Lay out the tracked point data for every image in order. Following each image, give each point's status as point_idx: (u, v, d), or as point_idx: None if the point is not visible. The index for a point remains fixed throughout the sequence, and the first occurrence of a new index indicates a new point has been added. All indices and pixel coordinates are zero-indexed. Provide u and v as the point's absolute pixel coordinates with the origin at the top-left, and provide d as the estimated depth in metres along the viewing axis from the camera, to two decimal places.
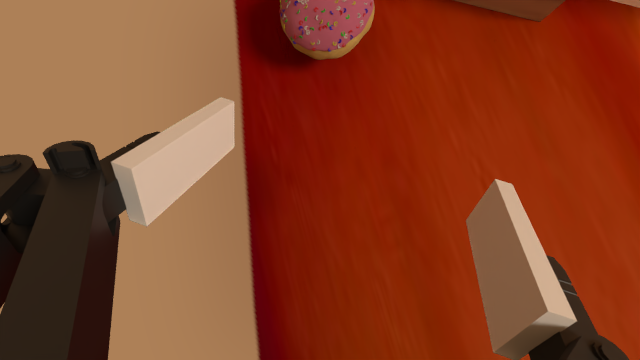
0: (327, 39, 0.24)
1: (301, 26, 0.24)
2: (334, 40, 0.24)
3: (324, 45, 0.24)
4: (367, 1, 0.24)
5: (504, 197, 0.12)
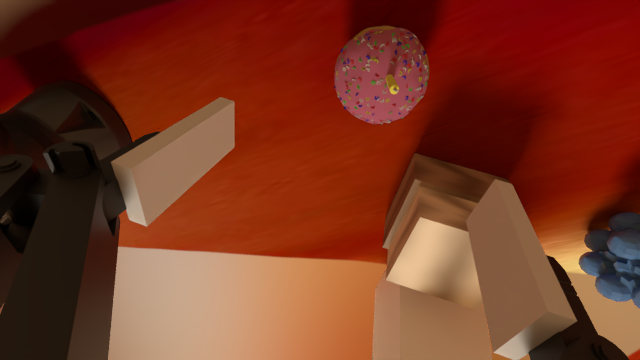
0: (339, 87, 0.26)
1: (349, 61, 0.24)
2: (340, 93, 0.26)
3: (336, 83, 0.26)
4: (375, 120, 0.27)
5: (504, 197, 0.12)
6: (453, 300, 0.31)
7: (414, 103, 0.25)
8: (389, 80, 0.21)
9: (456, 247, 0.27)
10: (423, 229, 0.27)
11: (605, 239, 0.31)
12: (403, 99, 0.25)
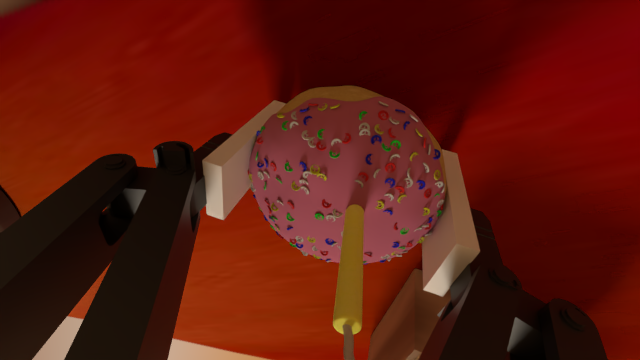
0: (259, 203, 0.13)
1: (268, 164, 0.11)
2: None
3: (254, 193, 0.13)
4: None
5: (445, 162, 0.13)
6: None
7: (413, 245, 0.12)
8: (344, 253, 0.08)
9: None
10: None
11: None
12: (388, 246, 0.11)
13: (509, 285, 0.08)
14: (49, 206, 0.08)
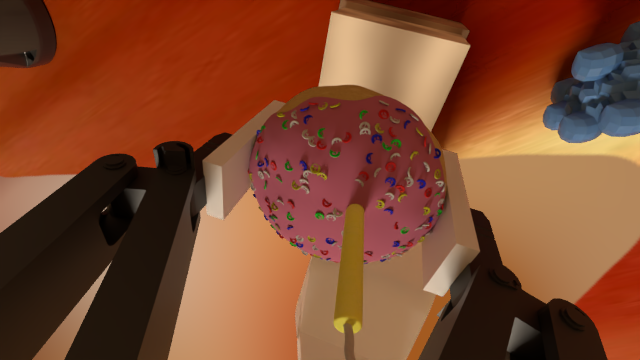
0: (259, 203, 0.13)
1: (268, 163, 0.11)
2: (263, 211, 0.13)
3: None
4: (336, 261, 0.14)
5: (445, 162, 0.13)
6: None
7: (413, 245, 0.12)
8: (344, 252, 0.08)
9: (380, 58, 0.21)
10: (338, 34, 0.21)
11: (573, 83, 0.26)
12: (388, 246, 0.11)
13: (509, 286, 0.08)
14: (49, 206, 0.08)
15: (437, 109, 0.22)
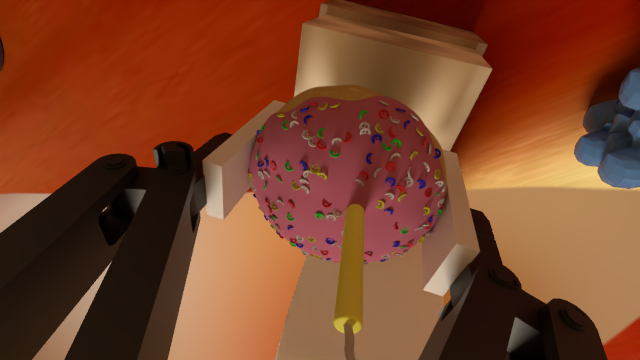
0: (259, 203, 0.13)
1: (268, 163, 0.11)
2: (263, 211, 0.13)
3: (255, 193, 0.13)
4: None
5: (445, 162, 0.13)
6: None
7: (413, 245, 0.12)
8: (344, 252, 0.08)
9: (369, 83, 0.16)
10: (312, 52, 0.16)
11: (614, 107, 0.20)
12: (388, 246, 0.11)
13: (509, 285, 0.08)
14: (49, 206, 0.08)
15: (445, 149, 0.17)
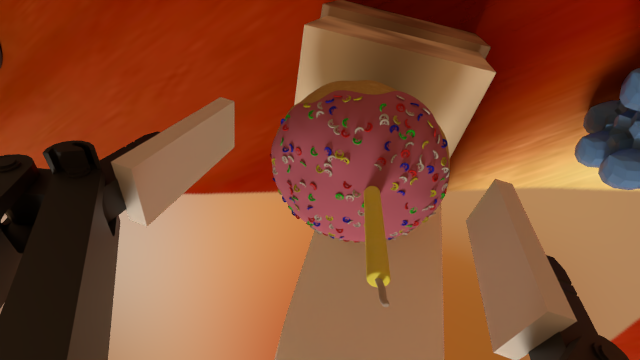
0: (279, 185, 0.14)
1: (293, 149, 0.12)
2: (282, 194, 0.14)
3: (275, 177, 0.14)
4: (346, 240, 0.15)
5: (504, 196, 0.12)
6: None
7: (418, 224, 0.13)
8: (369, 225, 0.09)
9: None
10: (314, 53, 0.16)
11: (615, 108, 0.20)
12: (397, 225, 0.13)
13: None
14: None
15: None
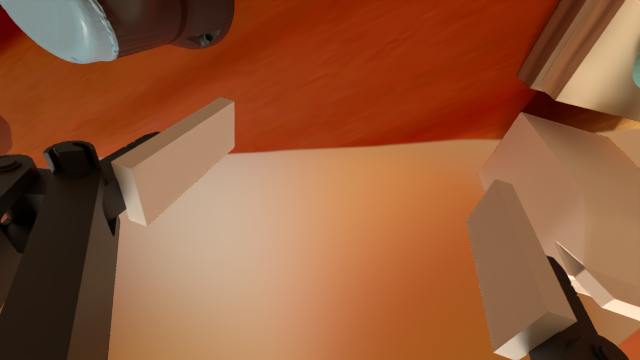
0: None
1: None
2: None
3: None
4: None
5: (504, 197, 0.12)
6: (635, 116, 0.28)
7: None
8: None
9: None
10: (633, 5, 0.24)
11: None
12: None
13: None
14: None
15: None
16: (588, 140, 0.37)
